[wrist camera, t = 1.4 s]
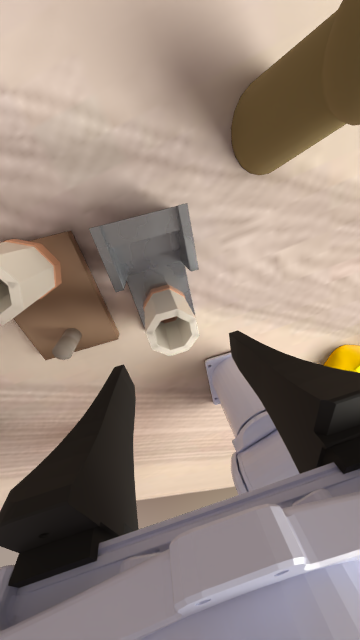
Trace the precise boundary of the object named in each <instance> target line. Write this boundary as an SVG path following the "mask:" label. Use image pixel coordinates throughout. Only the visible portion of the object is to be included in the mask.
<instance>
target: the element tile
mask: <svg viewBox="0 0 360 640" xmlns="http://www.w3.org/2000/svg"><path fill="white" fill-rule="evenodd" d="M324 366H328V367H332V368H337V369H342V370H347V371H353V372H359V373H360V346H358V345H343V346H340V347H339V348H337V349H336V350H334V351H333V352H332V354H331V355H330V356H329V358H328V359H327V361H326V362H325V364H324Z"/></svg>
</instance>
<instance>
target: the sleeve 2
mask: <svg viewBox="0 0 360 640" xmlns="http://www.w3.org/2000/svg"><path fill="white" fill-rule="evenodd" d="M143 309H144V312H145V333H146V336H147V339H148V341H149V344H150V346H151V349H152V350H155V351H157V352H160V353H162V354H165V355H168V356H172V355H175V354H178V353H182V352H185V351H188V350H189V349H190V348H191V346H192V345H193V343H194V342H195V341H196V339H197V338H198V337H199V331H198V326H197V321H196V317H195V315H194V314H193V312H192V310H191V308H190V307H189V305H188V303H187V301H186V299H185V296H184V294H183V292H181V291H179V290H178V289H176V288H174V287H172V286H170V285H164V286H160V287H157V288H153V289H151V291H150V292H149V294H148V296H147V298H146V299H145V301H144V303H143Z"/></svg>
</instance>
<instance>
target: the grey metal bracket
mask: <svg viewBox="0 0 360 640" xmlns="http://www.w3.org/2000/svg"><path fill="white" fill-rule="evenodd" d="M89 230H90V233H91V235H92V237H93V240H94V242H95V244H96V247H97V249H98V252H99V254H100V256H101V259H102V261H103V263H104V266H105V268H106V270H107V273H108V275H109V278H110V280H111V282H112V285H113V287H114V289H115V292H119V291H122V290H124V288H125V284H126V281H127V283H128V286H129V289H130V291H131V294H132V296H133V299H134V302H135V304H136V307H137V310H138V312H139V315H140V318H141V320H142V323H143V325H144V328H145V312H144V309H143V303H144V301H145V299H146V298H147V296H148V294H149V292H150V291H151V289H153V288H157V287H160V286H164V285H170V286H172V287H174V288H176V289H178V290H179V291H181V292H183V294H184V296H185V299H186V301H187V303H188V305H189V307H190V308H191V310H192V312H193V314H194V315H195V313H194V308H193V304H192V299H191V294H190V289H189V285H188V280H187V275H186V270H185V266H186V267H187V268H188V269H189V270H190V271H194V270H198V269H199V268H198V262H197V257H196V251H195V245H194V239H193V234H192V228H191V222H190V216H189V211H188V205H187V203H186V204H182V205H178V206H175V207H171V208H168V209H164V210H160V211H156V212H152V213H148V214H144V215H140V216H137V217H133V218H129V219H125V220H121V221H117V222H113V223H109V224H106V225H102V226H97V227H93V228H89ZM184 265H185V266H184Z"/></svg>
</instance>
